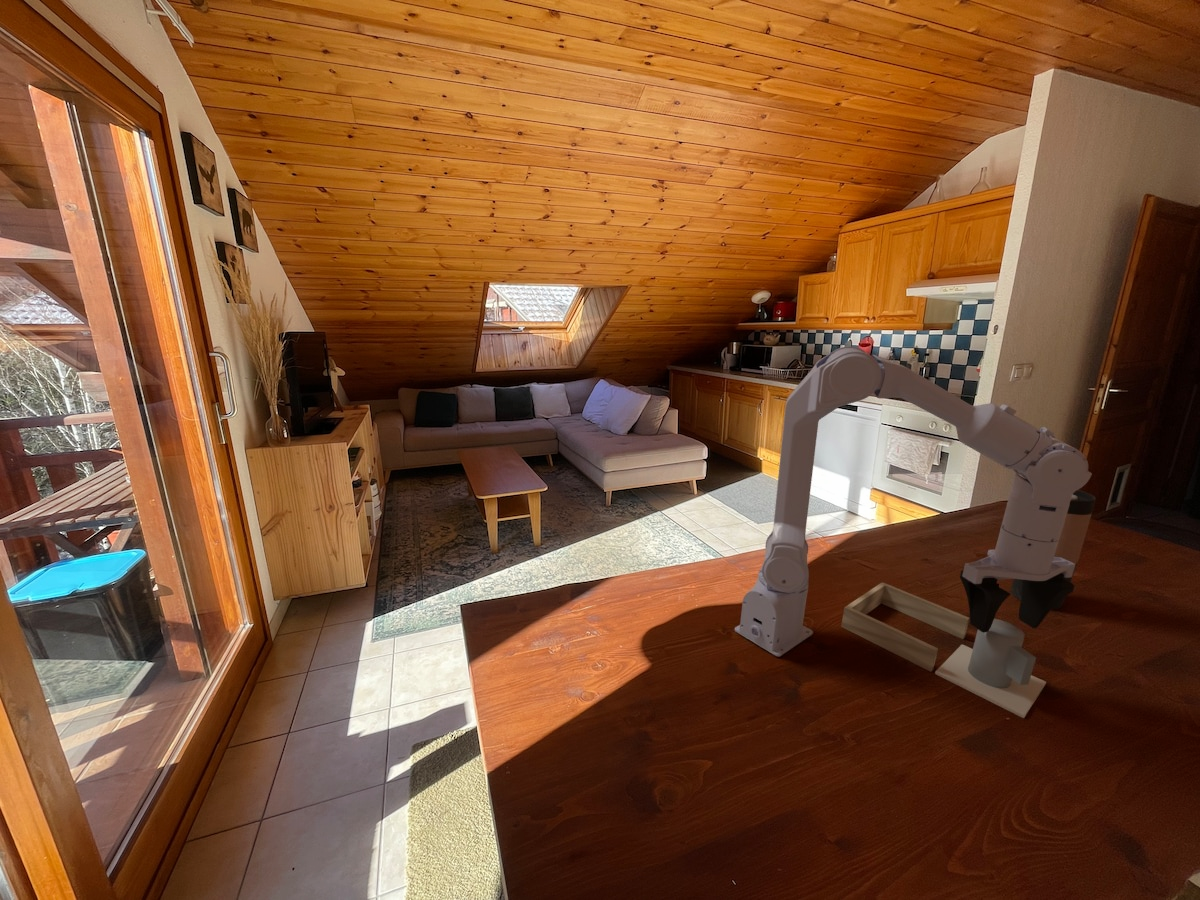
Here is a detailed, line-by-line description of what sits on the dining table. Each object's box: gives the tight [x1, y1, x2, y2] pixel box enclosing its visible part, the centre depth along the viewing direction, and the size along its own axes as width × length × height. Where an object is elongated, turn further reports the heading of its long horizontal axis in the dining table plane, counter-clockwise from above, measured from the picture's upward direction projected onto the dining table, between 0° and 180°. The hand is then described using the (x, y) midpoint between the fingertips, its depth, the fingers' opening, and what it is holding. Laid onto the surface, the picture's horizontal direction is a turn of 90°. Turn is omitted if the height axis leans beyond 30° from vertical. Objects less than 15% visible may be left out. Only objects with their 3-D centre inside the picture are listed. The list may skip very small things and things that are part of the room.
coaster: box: [934, 644, 1047, 719], centre depth 71 cm, size 10×10×1 cm
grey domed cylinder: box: [968, 618, 1037, 688], centre depth 69 cm, size 7×5×8 cm
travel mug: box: [1010, 489, 1097, 611], centre depth 88 cm, size 8×8×20 cm
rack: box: [841, 582, 970, 672], centre depth 80 cm, size 13×13×4 cm
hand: (1003, 625), depth 68 cm, fingers open, 7 cm apart
